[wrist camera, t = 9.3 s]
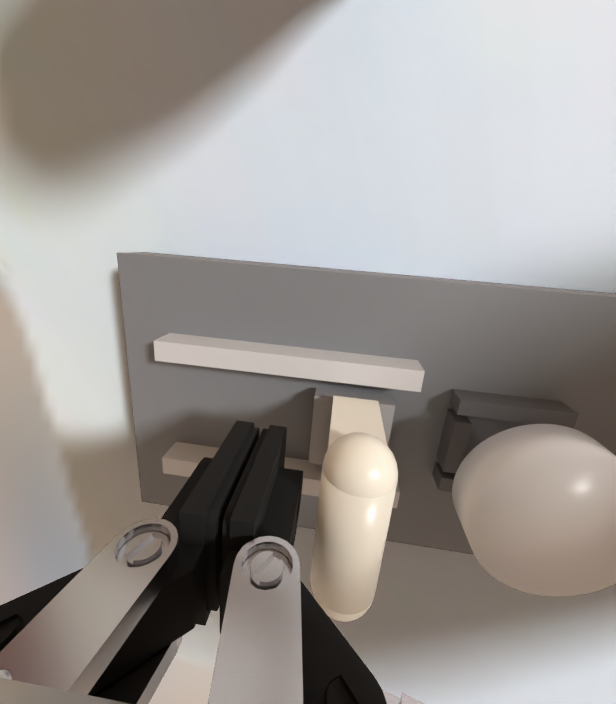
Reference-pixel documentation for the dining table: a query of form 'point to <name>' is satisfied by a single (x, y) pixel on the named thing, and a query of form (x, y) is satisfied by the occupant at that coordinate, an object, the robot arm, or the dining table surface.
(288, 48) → the dining table surface
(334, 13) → the dining table surface
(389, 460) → the lever
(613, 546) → the white rounded thick disc
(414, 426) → the panel
